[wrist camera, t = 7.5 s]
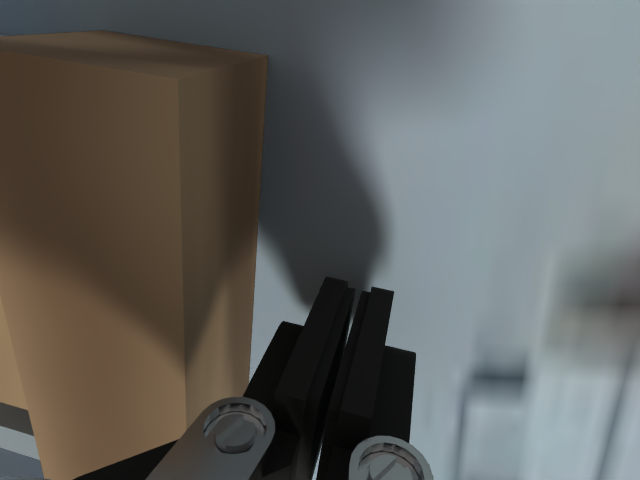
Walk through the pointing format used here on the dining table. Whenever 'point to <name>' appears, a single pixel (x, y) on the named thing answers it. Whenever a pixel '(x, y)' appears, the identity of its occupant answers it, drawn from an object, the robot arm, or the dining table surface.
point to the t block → (125, 237)
